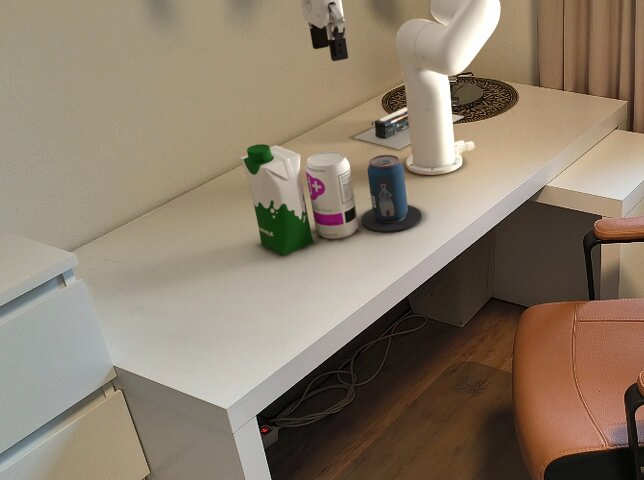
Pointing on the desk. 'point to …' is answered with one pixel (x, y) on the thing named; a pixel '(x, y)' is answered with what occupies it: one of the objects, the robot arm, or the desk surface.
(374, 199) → the soda can
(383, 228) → the coaster
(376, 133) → the white tray with gadget
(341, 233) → the supplement can
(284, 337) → the desk surface
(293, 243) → the soya milk
